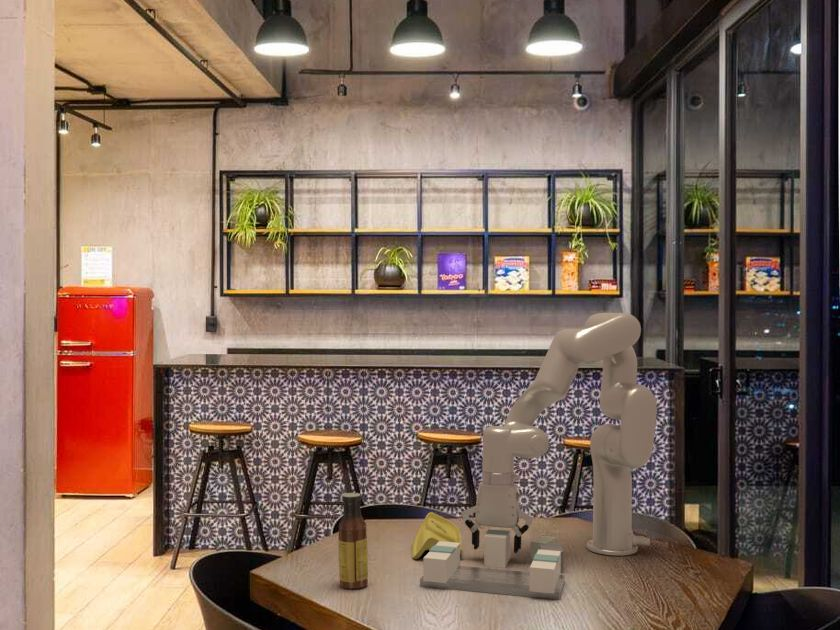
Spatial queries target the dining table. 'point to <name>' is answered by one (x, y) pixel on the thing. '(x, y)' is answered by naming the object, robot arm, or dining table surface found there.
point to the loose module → (497, 547)
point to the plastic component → (434, 534)
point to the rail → (494, 582)
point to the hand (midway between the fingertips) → (496, 549)
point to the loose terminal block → (541, 540)
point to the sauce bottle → (352, 544)
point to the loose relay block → (553, 548)
